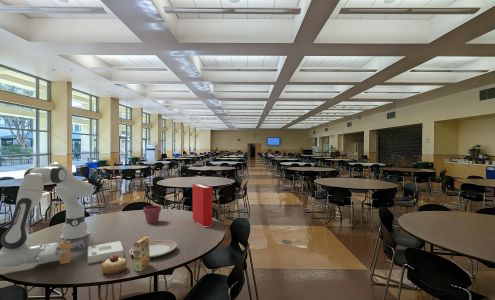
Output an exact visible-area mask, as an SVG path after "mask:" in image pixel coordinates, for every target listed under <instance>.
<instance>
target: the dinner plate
mask: <svg viewBox="0 0 495 300" xmlns="http://www.w3.org/2000/svg"><path fill="white" fill-rule="evenodd" d="M177 247H178V246H177V243H176V241H173V240H169V239H168V240H167V239H156V240H149V256H150V259H152V258H157V256H158V257H161V255H162V256H164V255H167V254H169V253H170V252H173V251H174V250H175V249H176V248H177ZM128 251H129V254H130V255H132V256H134V246H133V247H132V248H130V249H129V250H128Z"/></svg>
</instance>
